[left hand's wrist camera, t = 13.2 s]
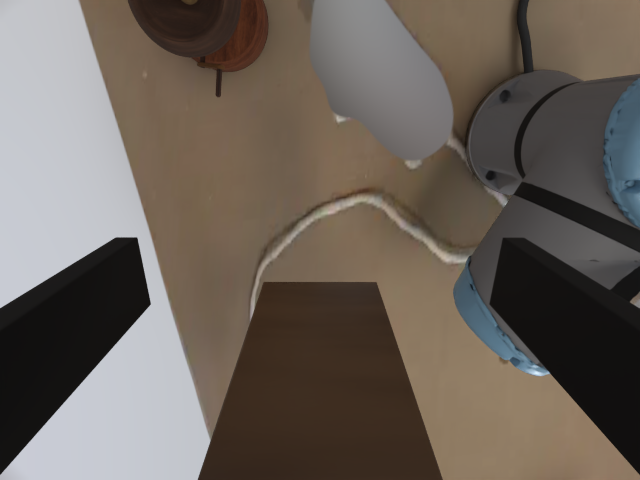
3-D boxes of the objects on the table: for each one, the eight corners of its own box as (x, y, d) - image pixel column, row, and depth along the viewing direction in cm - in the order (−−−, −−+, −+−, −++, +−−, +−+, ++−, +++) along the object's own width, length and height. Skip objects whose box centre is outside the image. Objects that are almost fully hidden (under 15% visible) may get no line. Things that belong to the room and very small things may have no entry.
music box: (165, -51, 37) (40, -216, 18) (266, -46, 38) (244, -199, 19) (183, 99, 42) (100, 88, 24) (271, 100, 43) (258, 91, 25)
